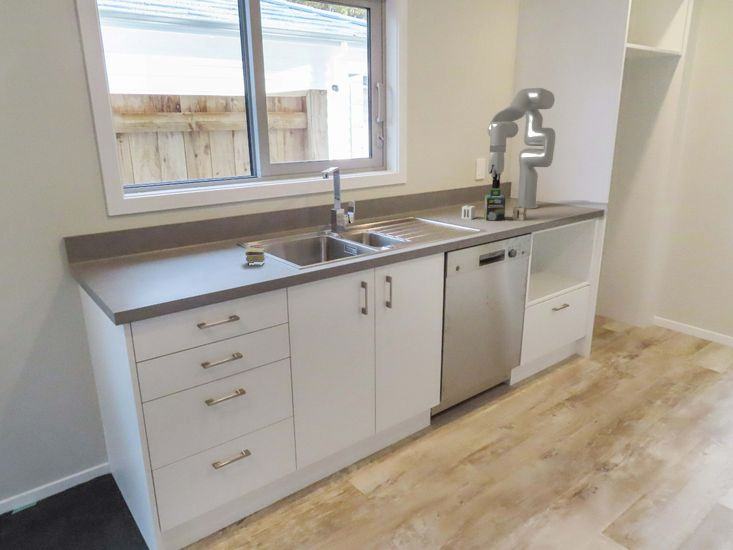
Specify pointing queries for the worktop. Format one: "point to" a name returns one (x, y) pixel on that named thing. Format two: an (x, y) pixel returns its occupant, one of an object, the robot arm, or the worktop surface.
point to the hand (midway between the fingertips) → (495, 188)
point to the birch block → (519, 213)
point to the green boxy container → (495, 206)
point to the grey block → (468, 212)
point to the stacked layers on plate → (254, 255)
